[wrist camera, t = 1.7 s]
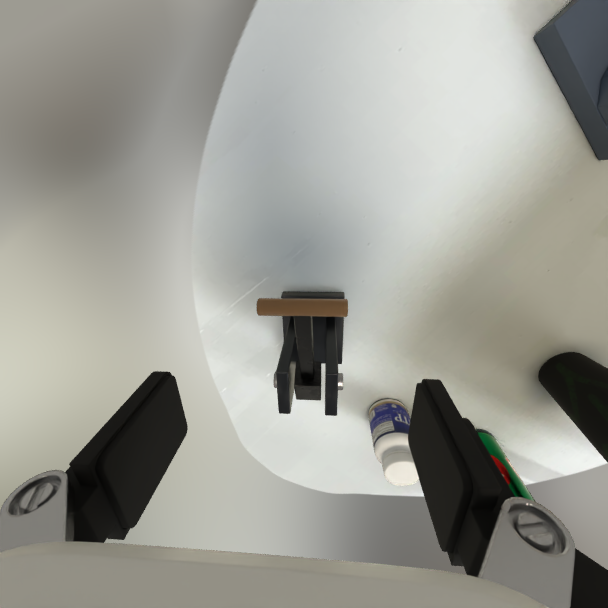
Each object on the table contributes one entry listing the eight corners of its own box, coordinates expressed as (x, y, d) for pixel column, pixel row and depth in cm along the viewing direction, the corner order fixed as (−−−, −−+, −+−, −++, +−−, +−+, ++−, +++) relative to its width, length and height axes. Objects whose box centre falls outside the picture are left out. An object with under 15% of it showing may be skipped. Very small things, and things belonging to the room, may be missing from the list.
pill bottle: (415, 414, 38) (438, 476, 30) (384, 432, 40) (399, 496, 32) (390, 391, 37) (407, 450, 29) (359, 411, 39) (368, 472, 31)
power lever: (260, 287, 18) (253, 316, 16) (346, 287, 18) (348, 317, 16) (281, 374, 27) (277, 399, 25) (338, 376, 27) (339, 401, 25)
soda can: (489, 455, 40) (549, 558, 30) (452, 454, 41) (498, 554, 30) (498, 429, 38) (566, 529, 27) (459, 428, 39) (511, 526, 28)
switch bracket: (282, 291, 33) (260, 347, 22) (344, 292, 32) (352, 349, 21) (286, 357, 36) (269, 432, 25) (341, 358, 36) (347, 436, 25)
